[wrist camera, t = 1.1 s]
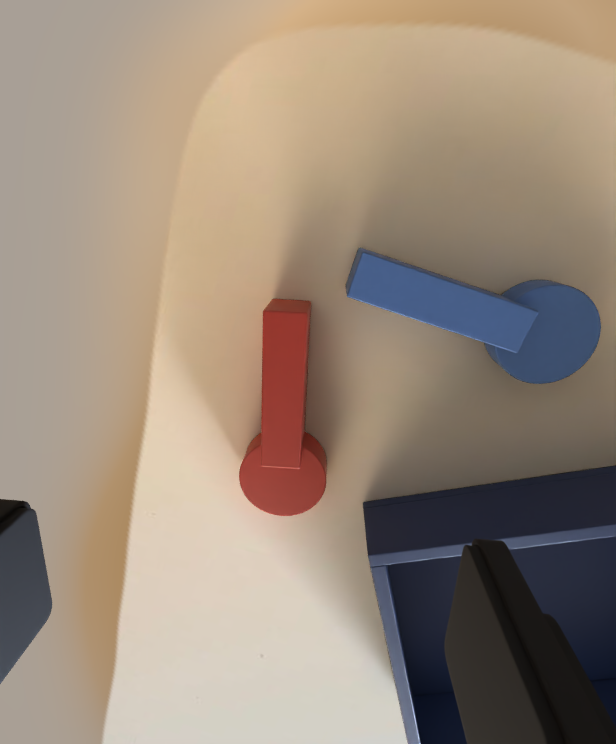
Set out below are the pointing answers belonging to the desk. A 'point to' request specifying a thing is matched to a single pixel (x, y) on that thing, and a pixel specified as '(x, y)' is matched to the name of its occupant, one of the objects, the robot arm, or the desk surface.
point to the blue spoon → (488, 315)
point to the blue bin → (534, 559)
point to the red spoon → (284, 419)
